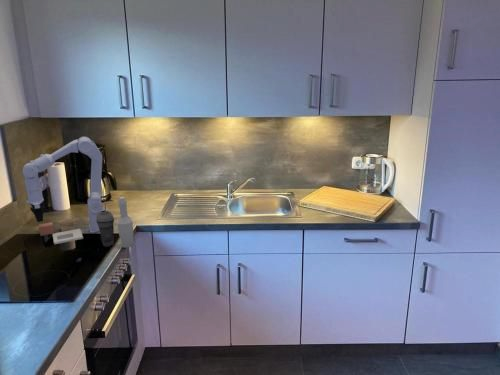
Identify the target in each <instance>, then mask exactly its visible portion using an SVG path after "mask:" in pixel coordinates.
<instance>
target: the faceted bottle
mask: <svg viewBox="0 0 500 375" xmlns="http://www.w3.org/2000/svg"><path fill="white" fill-rule="evenodd" d="M127 203H128V202H127V200H126V197H125V196H121V197H118V208H119V214H120V217H119V218H118V219H117V230H118V235H119V239H120V243H121V247H122V248H125V249H129V248H130V249H131V248H132V247H133V246H134V226H133V219H132V218H131V217H130V216H129V215H128V208H127V207H128V206H127Z"/></svg>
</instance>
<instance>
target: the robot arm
mask: <svg viewBox="0 0 500 375" xmlns="http://www.w3.org/2000/svg"><path fill="white" fill-rule="evenodd" d="M79 152H80V153H81V154H83V155H86V156H88V157H89V158H90V159H91V166H90V191H89V196H88V198H87V201H86V202H87V207H88V209H87V214H88V222H89V226H88V229H89V232H90V233H91V234H93V233H97V232H100V230H99V226H98V224H97V222H96V220H97V215H98V214H99V213H100V212H101V211H104V210H105V207H104V205H103V203H102V195H101V192H102V177H103V176H102V174H103V173H102V171H103V154H102V152H101V151H100V150H99V148H98V146H97V144H96V143H95V141H94V140H92V139H90V138H89V137H88V136H81V137H79V138H78V139H73V140H72V141H70V142H68V143H67V144H65V145H63V146H62V147H61V148H58V149H57V150H56V151H54V152H52V153H51V154H50V153H45V154H44V153H41V154H40V155H39V157H38V158H36V159H34V160H29V162H28V163H25V164H24V166H23V167H22V175H23V176H24V178H23V179H24V180H25V181H24V182H25V183H24V185H25V188H26V193H27V200H25V202H26V204H29V205H30V206H31V207H30V208H29V210H30V211H31V213H32V214H33V215H34V217H35V220H36V222H37V223H40V222H44V210H45V205H43V203H44V201H45V199H44V196H43V191H42V185H41V180H40V178H39V173H42V172H44V171H46V170H47V169H49V168H50V167H52V166H54V165H55V162H56V160H58V159H62V157H65V156H66V155H68V154H70V153H77V154H78V153H79ZM106 211H109V209H108V208H106Z"/></svg>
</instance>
